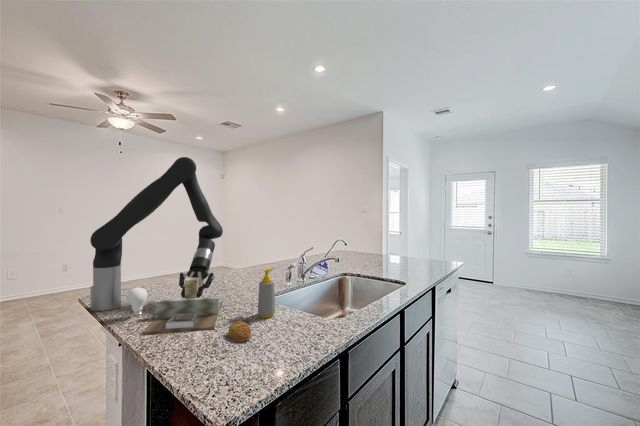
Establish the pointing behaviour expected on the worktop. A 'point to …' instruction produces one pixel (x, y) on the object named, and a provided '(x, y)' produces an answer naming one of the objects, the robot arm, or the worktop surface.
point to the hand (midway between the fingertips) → (190, 296)
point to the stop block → (191, 287)
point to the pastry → (239, 331)
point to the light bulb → (137, 299)
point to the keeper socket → (183, 324)
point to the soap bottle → (266, 296)
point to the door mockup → (202, 306)
